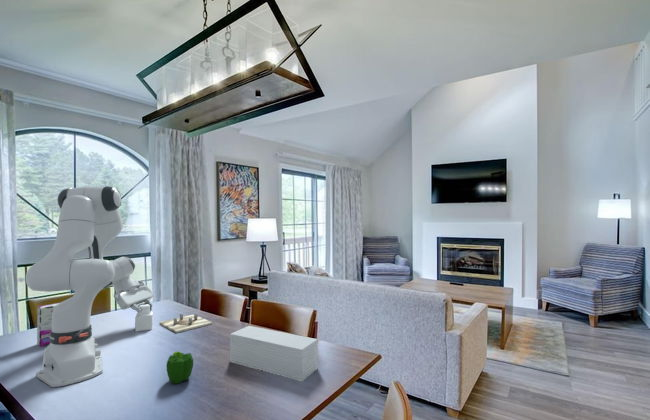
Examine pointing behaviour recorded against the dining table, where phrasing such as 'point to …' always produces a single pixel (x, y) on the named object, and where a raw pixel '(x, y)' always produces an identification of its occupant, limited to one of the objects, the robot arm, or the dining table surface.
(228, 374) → the dining table surface
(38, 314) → the candy bar box
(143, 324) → the medicine bottle
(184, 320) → the stub cradle
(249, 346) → the stack of papers
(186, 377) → the bell pepper
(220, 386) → the dining table surface
